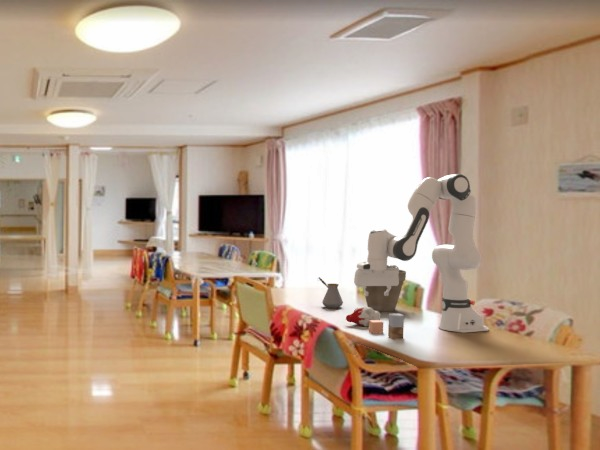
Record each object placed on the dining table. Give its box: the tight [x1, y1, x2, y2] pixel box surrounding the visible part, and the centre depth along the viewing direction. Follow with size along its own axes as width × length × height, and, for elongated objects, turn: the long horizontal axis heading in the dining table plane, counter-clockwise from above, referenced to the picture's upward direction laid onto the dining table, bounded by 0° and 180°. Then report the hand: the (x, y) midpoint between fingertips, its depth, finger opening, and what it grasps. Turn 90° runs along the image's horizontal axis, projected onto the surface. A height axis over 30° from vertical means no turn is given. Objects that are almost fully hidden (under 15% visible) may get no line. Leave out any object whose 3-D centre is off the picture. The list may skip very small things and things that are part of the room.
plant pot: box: [364, 269, 407, 312], centre depth 339 cm, size 25×25×22 cm
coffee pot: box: [317, 277, 344, 309], centre depth 347 cm, size 21×12×15 cm, turn 29°
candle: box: [345, 306, 381, 327], centre depth 294 cm, size 9×11×15 cm
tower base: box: [387, 324, 404, 340], centre depth 269 cm, size 5×5×5 cm
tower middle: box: [388, 312, 405, 328], centre depth 269 cm, size 5×5×5 cm
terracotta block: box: [368, 319, 384, 334], centre depth 280 cm, size 5×5×5 cm
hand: (376, 295), depth 279 cm, fingers open, 8 cm apart
